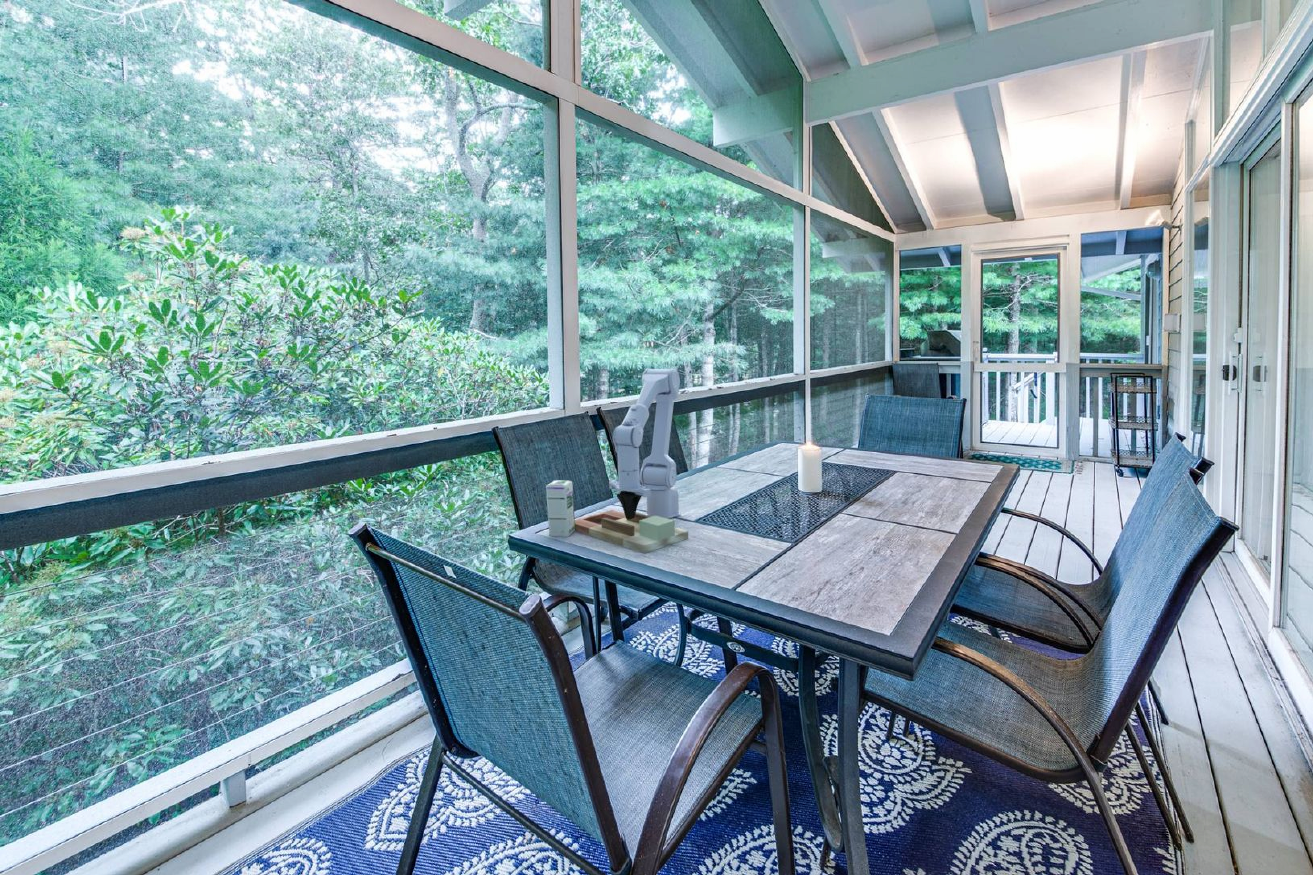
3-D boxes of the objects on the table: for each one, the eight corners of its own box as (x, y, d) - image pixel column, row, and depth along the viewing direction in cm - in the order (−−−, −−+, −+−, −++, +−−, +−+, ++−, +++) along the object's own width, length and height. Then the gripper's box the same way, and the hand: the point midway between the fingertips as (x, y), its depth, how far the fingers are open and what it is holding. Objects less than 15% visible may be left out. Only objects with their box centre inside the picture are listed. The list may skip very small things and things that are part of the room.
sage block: (655, 529, 168) (655, 515, 167) (674, 535, 163) (674, 520, 162) (639, 535, 164) (639, 520, 163) (658, 540, 159) (658, 525, 158)
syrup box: (568, 537, 170) (566, 484, 167) (548, 536, 171) (545, 484, 169) (575, 530, 175) (573, 480, 173) (555, 529, 176) (553, 479, 174)
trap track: (612, 516, 188) (611, 501, 188) (688, 538, 166) (687, 521, 166) (569, 528, 177) (568, 513, 177) (644, 553, 155) (644, 536, 155)
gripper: (599, 468, 170) (601, 516, 173) (636, 476, 160) (637, 527, 162) (619, 464, 175) (621, 511, 177) (655, 471, 165) (657, 520, 167)
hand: (630, 518), depth 170 cm, fingers closed
